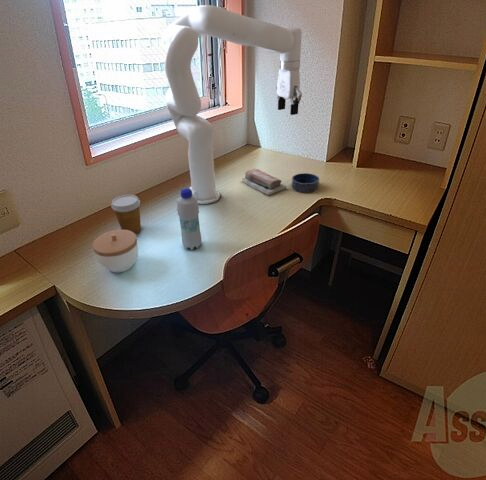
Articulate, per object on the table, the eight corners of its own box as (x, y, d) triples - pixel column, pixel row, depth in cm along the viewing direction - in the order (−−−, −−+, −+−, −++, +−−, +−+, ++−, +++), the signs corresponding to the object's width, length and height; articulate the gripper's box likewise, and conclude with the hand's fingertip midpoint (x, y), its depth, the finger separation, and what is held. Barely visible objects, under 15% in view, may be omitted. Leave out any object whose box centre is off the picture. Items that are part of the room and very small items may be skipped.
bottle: (202, 239, 119) (197, 184, 108) (202, 250, 113) (196, 193, 102) (182, 240, 119) (175, 185, 108) (181, 252, 113) (173, 195, 102)
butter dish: (240, 171, 153) (259, 165, 157) (241, 182, 155) (258, 176, 160) (268, 185, 140) (287, 178, 145) (268, 196, 143) (286, 189, 147)
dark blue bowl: (301, 195, 142) (301, 186, 140) (286, 185, 150) (287, 176, 148) (323, 189, 145) (324, 180, 143) (308, 180, 154) (309, 171, 152)
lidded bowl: (141, 250, 115) (134, 220, 109) (143, 273, 105) (136, 242, 99) (100, 257, 113) (91, 227, 107) (99, 282, 103) (89, 250, 96)
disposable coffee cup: (133, 221, 131) (127, 191, 125) (151, 229, 126) (145, 198, 120) (112, 232, 125) (104, 202, 119) (129, 241, 120) (122, 209, 114)
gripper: (270, 64, 141) (269, 108, 151) (293, 69, 128) (290, 117, 137) (286, 62, 144) (284, 106, 153) (311, 66, 130) (307, 115, 139)
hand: (287, 111), depth 145 cm, fingers open, 9 cm apart
